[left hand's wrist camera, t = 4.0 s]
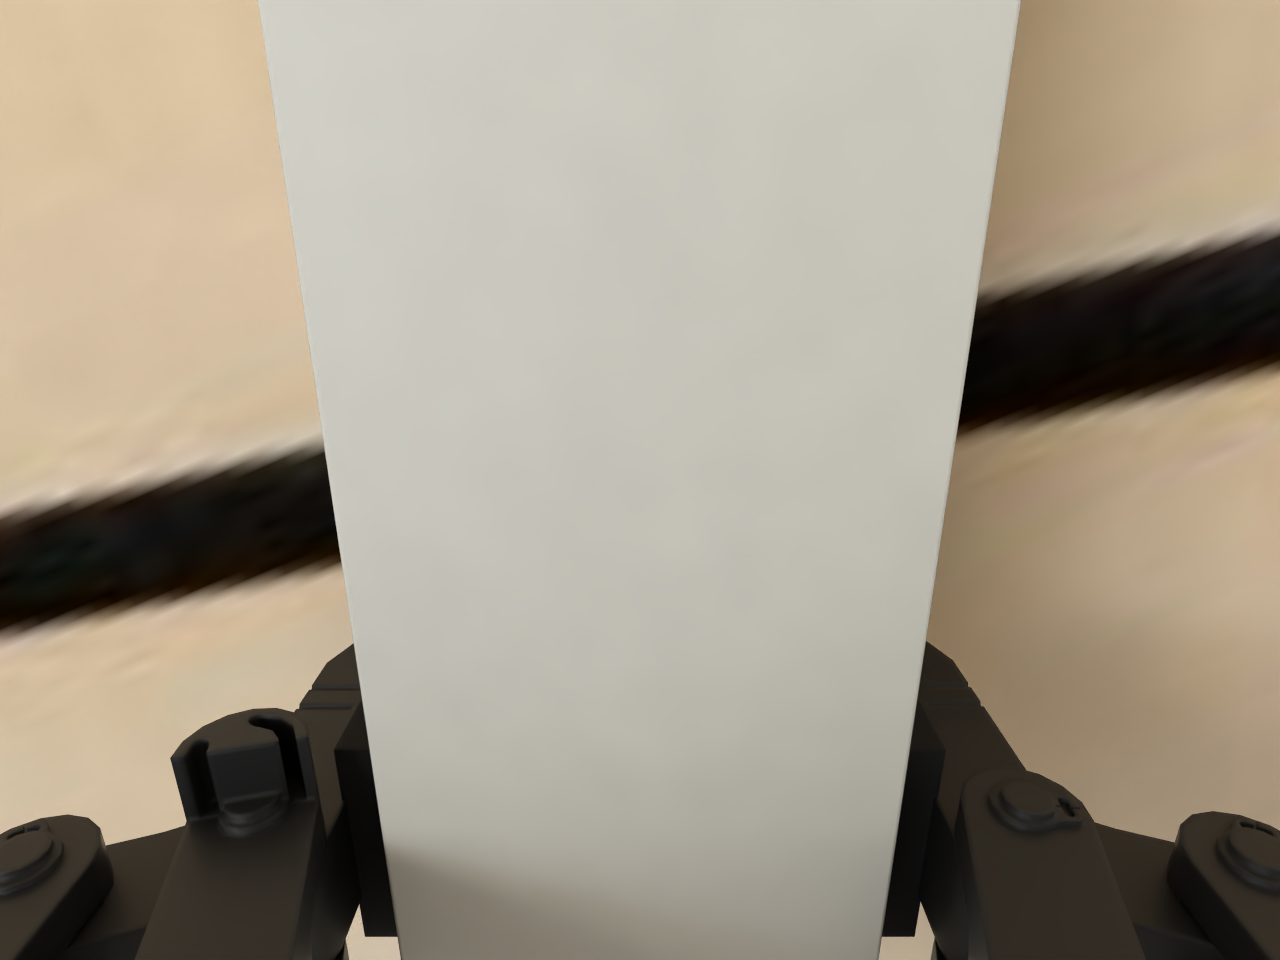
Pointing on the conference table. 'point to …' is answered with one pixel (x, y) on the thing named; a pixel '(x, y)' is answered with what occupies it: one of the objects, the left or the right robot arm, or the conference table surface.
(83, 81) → the conference table surface
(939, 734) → the left robot arm
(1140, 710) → the conference table surface
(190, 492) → the conference table surface
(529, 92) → the bar
